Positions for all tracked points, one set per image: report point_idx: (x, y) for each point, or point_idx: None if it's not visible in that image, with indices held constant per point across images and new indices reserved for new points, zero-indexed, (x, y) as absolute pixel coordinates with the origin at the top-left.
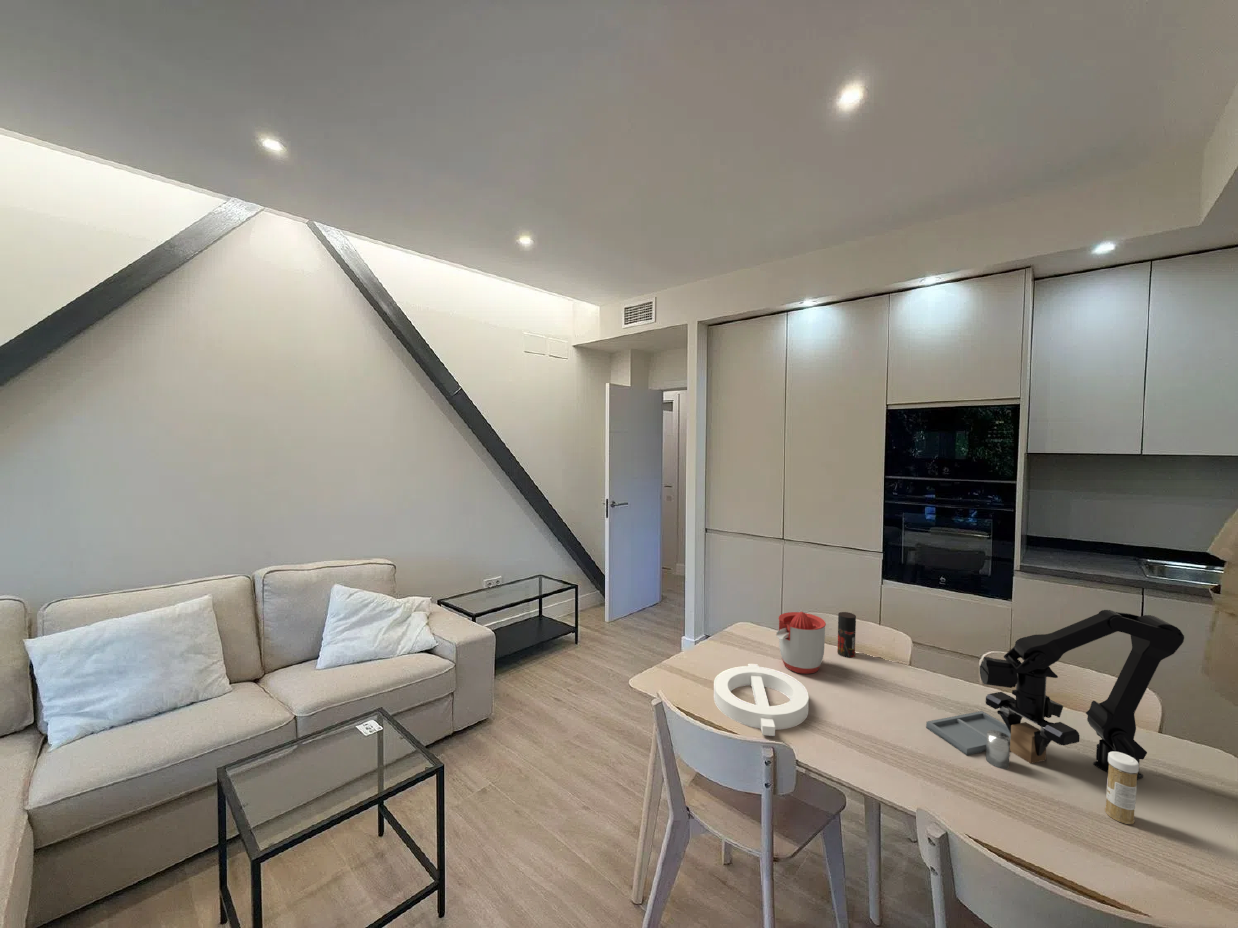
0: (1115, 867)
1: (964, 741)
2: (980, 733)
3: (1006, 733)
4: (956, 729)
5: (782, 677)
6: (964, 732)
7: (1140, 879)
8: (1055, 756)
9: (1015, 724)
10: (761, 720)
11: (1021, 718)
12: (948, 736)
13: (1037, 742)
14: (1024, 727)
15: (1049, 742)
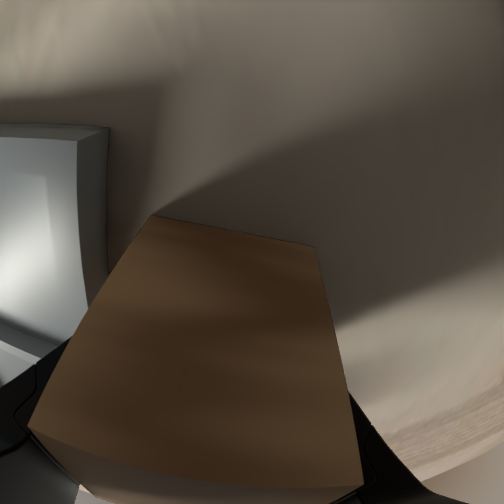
0: (463, 452)
1: None
2: (32, 361)
3: (13, 183)
4: (2, 358)
5: None
6: (17, 359)
7: (486, 442)
8: (341, 118)
9: (89, 488)
10: None
11: (2, 461)
12: None
13: None
14: (145, 497)
15: (387, 453)
